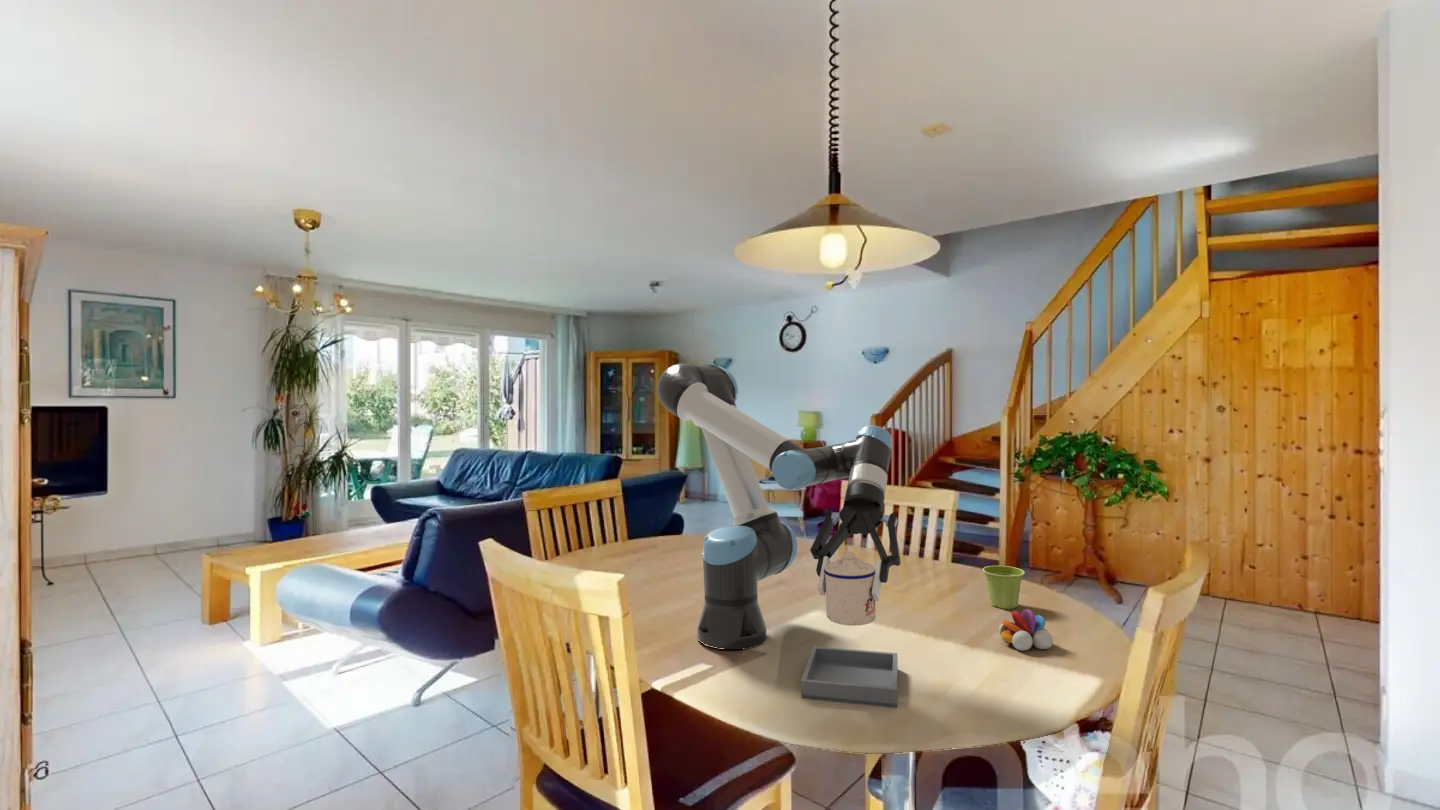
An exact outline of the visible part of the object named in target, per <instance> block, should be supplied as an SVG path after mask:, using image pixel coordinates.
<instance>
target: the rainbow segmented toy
mask: <svg viewBox="0 0 1440 810" xmlns="http://www.w3.org/2000/svg"><path fill="white" fill-rule="evenodd" d="M1011 617H1012V620H1013V622H1012V621H1009V620H1007V619H1003V620H1002V621H1001V622H1002V623H1001V624H1000V626H999V628H998V630H999V631H998V633H999V635H1000V638H1001V639H1002V641H1004V642H1005V643H1009V644H1012V646H1013V647H1014V648H1015V649H1016V650H1018V651H1022V652H1025V651H1028V650H1030V649H1031V648H1032V646H1033V645H1034V647H1035V648H1037V649H1038V650H1041V649H1043V651H1045V650H1044V649H1046V650H1048V649H1050V648H1051V647H1052V645H1053V643H1054V639H1053V635H1052V634H1051V633H1050V632H1049V630H1047V629H1046V628H1045V625H1046V620H1045V618H1044V617H1043V616H1042V615H1038V614H1037V615H1035V614H1034V612H1033V611H1032V609H1024V610H1023V611H1022V612H1021V613H1020V612H1018V611H1016V610H1014V611H1012V612H1011Z"/></svg>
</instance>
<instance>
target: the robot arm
mask: <svg viewBox="0 0 1440 810" xmlns="http://www.w3.org/2000/svg"><path fill="white" fill-rule="evenodd" d="M656 389H657V390H656V391H657V396H658V400H659V402H660V404H662V406H663V407H664V408H665V409H666V410H667V411H668V412H670V413H671V414H673V415H674V416H676V417H677V418H678V419H680V420H683V421H686V422H688V421H691V422H692V424H693V425H695V426H697V427H698V428H700V429H701V430H702V434H703V437H704V439H705V441H706V445H707V448H708V450H709V452H710V455H711V459H712V461H713V464H714V467H715V469H716V473H717V475H718V477H719V480H720V482H721V486H722V489H723V492H724V494H725V497H726V500H727V503H728V505H729V507H730V510H731V511H730V512H731V514H732V516H733V522H732V525H729V526H727V527H719V528H716V529H713V530H712V531H710V532H708V533H707V534H706V535H705V537H704V539H703V548H702V549H703V550H702V559H703V580H704V581H703V583H704V584H703V586H704V587H703V589H704V590H703V591H704V604H703V608H702V611H701V614H700V618H699V621H698V625H697V631H696V632H697V633H696V634H697V640H698V639H699V640H700V641H701V642H703V643H704V644H707V645H709V646H713V647H717V648H724V649H742V650H744V649H743V648H748V649H752V648H755V647H758V646H760V645H762V644H764V642H765V641H767V635H768V634H767V625H766V622H765V619H764V617H763V613H762V610H761V607H760V605H759V601H758V600H759V599H758V582H759V581H761V580H764V579H767V578H769V577H771V576H775V575H779V574H780V573H782V572H783V571H784V570H786V569H788V568H789V567H790V566H791V565H792V564H793V563H794V561H795V558H796V556H797V554H798V541H797V540H798V539H797V536H796V534H795V532H794V530H793V529H792V527H790V525H789V524H788V525H787V524H786V523H785V522H783V521H781V520H780V516H779V515H778V511H777V510H776V509H773V508H771V507H769V505H768V503H767V500H766V499H765V496H764V493H763V491H762V488H761V485H760V482H759V480H758V477H757V474H756V471H755V469H754V467H753V463H752V462H751V460H753V461H754V462H756V463H758V464H759V465H761V466H762V467H764V468H765V469H767V470H768V471H770V472H772V473H771V474H772V477H773V478H774V480H775V482H776V483H777V484H778V485H779V486H780V487H781V488H783V489H786V490H800V489H805V488H807V487H809V486H813V485H814V486H815V485H819V484H823V483H827V482H831V481H837V480H842V479H846V478H847V479H848V481H847V486H846V491H845V494H844V495H845V496H844V501H843V507H842V508H841V510H840V511H838V512H832V511H831V509H828V510H826V511H825V513H824V521H823V523H822V525H821V527H820V529H819V531H818V533H817V535H816V537H815V539H814V541H813V543H812V545H811V547H810V549H809V551H810V553H811V556H812V557H813V559H814V560H818V561H817V564H816V570H815V571H816V574H817V576H818V577H819V578H818V583H817V590H818V592H819V594H820V596H822V597H823V596H824V597H826V579H825V573H824V569H825V566H826V565H827V564H829V563H831V560H830V559H831V558H832V557H833V556H834V554H835V553H836V552H837V550H838V549H839V548H840V547H841V546H842V544H843V543H844V541H846V540H847V539H848V538H849V537H850V536H852V535H858V534H861V535H863V536H865V535H866V536H868V535H869V536H870V537H871V540H872V542H873V545H874V547H875V549H876V552H877V554H878V556H879V559H880V560H875V561H876V562H875V567H874V568H875V574H874V581H873V588H872V595H873V598H874V601H875V602H880V594H881V589H882V583H884V584H886V583H887V582H888V579H889V571H890V568H891V567H892V566H896V567H898V566H900V565H901V557H900V550H899V549H900V548H899V542H898V536H897V530H898V529H897V528H898V525H899V521H898V518H897V514H896V513H894V512H892V513H890V514H884V513H883V511H884V505H885V504H884V503H885V495H886V490H887V483H888V475H889V467H890V463H891V458H892V454H893V452H892V451H893V450H892V449H893V437H892V435H891V433H890V432H889V431H888V430H887V429H885V428H883V427H881V426H877V425H866V426H864V427H862V428H861V429H860V430H859V431H858V432H857V435H856V437H855V439H852V440H849V441H845V442H842V443H837V444H836V443H835V444H831V445H826V446H820V447H819V446H818V447H812V448H804V447H802V446H800V445H798V444H796V443H794V442H793V441H791V440H790V439H788V437H787V438H786V437H785V436H783V435H782V434H780V433H778V432H776V431H775V430H773V429H771V428H770V427H768V426H766V425H765V424H764V423H761V422H759V420H757V419H755V418H753V417H751V416H749V415H748V414H747V413H744V412H743V411H741V410H739V409H738V407H737V404H736V401H737V399H738V396H737V395H738V393H739V388H738V384H737V381H736V378H735V377H734V375H733V374H732V373H731V372H730V371H729V370H728V369H727V368H725V367H723V366H719V365H714V364H693V363H690V364H689V363H677V364H673V365H671V366H669V367H667V368H666V369H665V370H664V371H663V372H662V374H661V375H660V377H659V379H658V382H657V386H656ZM839 520H840V521H841V522H840V524H839V526H838V528H837V530H836V531H835V532H834V534H832V533H833V530H834V526H835V525H837V523H838V521H839ZM883 522H884V524H885V526H886V527H887V531H888V538H889V547H890V552H891V555H888V554H887V552H886V549H885V548H884V544H883V543H882V540H881V538H880V535H879V533H878V531H877V528H878V527H879V526H880V525H882V523H883ZM831 534H832V535H831ZM830 536H831V537H830ZM751 647H752V648H751Z"/></svg>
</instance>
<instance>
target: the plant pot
mask: <svg viewBox="0 0 1440 810" xmlns="http://www.w3.org/2000/svg"><path fill="white" fill-rule="evenodd" d="M982 572H983V573H984V576H985V578H986V582H987V583H986V584H987V589H988V596H989V602H990V605H991V606H992V607H998V609H1002V610H1013V609H1015V608H1018V606H1019V605H1018V604H1019V598H1020V591H1021V584H1022V581H1023V577H1024V576H1025V574H1026V572H1025V571H1024V570H1023V569H1021V568H1018V567H1014V566H1009V565H989V566H984V567H983V568H982Z"/></svg>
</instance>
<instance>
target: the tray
mask: <svg viewBox="0 0 1440 810" xmlns="http://www.w3.org/2000/svg"><path fill="white" fill-rule="evenodd" d="M898 663H899V662H898V652H889V651H875V650H863V649H850V648H838V647H825V646H812V649H811V651H810V654H809V657H808V660H807V663H806V664H805V668H804V671H803V675H802V676H801V679H800V695H801V697H800V698H801V699H805V698H807V700H816V701H827V702H835V703H836V702H837V703H846V704H854V705H864V706H875V707H885V708H894V709H895V708H896V709H898V682H899V681H898V680H899V679H898V676H899V675H898V673H899V671H898V670H899V668H898V667H899V666H898Z"/></svg>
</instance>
